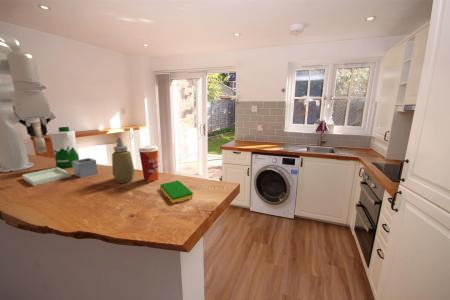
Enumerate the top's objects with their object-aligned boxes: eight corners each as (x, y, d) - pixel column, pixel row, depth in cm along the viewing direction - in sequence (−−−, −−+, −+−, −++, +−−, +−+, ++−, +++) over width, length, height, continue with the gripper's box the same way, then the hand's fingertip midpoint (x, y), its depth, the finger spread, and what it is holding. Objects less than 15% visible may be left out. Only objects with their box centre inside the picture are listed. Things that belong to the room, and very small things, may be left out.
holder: (74, 176, 88) (71, 161, 86) (91, 172, 93) (88, 157, 92) (81, 179, 84) (78, 163, 83) (98, 175, 90) (95, 160, 88)
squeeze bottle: (110, 181, 83) (104, 137, 79) (130, 175, 88) (125, 135, 84) (118, 186, 77) (111, 140, 73) (138, 180, 83) (134, 137, 79)
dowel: (36, 152, 81) (29, 122, 79) (45, 150, 84) (39, 122, 81) (38, 153, 80) (31, 122, 77) (47, 151, 82) (41, 122, 80)
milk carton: (82, 164, 107) (76, 126, 102) (74, 169, 98) (66, 128, 94) (63, 165, 105) (56, 127, 100) (53, 170, 96) (44, 129, 92)
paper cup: (154, 183, 80) (151, 149, 77) (137, 182, 81) (133, 148, 78) (164, 176, 87) (162, 145, 84) (148, 175, 89) (145, 144, 86)
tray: (23, 180, 84) (22, 174, 83) (58, 172, 93) (57, 167, 93) (34, 188, 76) (32, 181, 75) (71, 178, 86) (70, 172, 85)
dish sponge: (178, 185, 78) (178, 180, 78) (193, 199, 67) (193, 192, 66) (160, 190, 75) (159, 184, 74) (172, 205, 63) (172, 198, 63)
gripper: (51, 89, 85) (59, 132, 89) (-7, 87, 72) (6, 138, 76) (57, 88, 81) (66, 133, 85) (-2, 85, 68) (12, 139, 72)
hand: (38, 135), depth 80 cm, fingers closed on dowel, 3 cm apart
